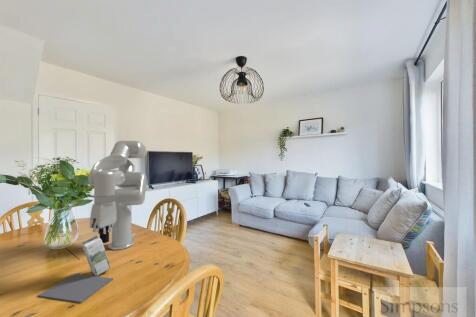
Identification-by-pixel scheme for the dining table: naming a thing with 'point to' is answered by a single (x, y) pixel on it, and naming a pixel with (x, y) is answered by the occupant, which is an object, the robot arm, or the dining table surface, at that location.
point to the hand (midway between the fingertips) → (104, 242)
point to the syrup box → (96, 255)
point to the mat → (76, 288)
